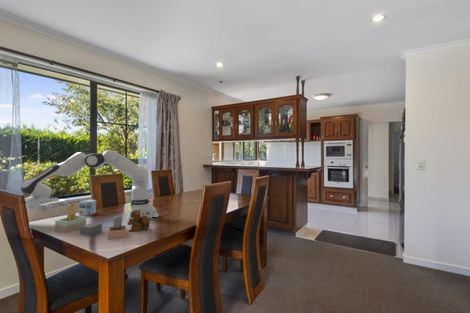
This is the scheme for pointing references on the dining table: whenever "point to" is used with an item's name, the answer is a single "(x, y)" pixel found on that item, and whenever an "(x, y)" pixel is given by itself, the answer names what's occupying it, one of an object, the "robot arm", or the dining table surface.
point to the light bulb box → (87, 207)
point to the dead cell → (117, 223)
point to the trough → (69, 224)
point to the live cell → (71, 212)
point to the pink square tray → (117, 232)
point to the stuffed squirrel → (138, 221)
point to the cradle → (91, 228)
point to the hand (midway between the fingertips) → (59, 205)
